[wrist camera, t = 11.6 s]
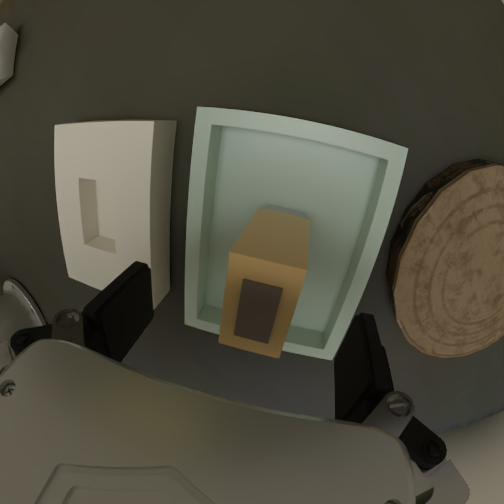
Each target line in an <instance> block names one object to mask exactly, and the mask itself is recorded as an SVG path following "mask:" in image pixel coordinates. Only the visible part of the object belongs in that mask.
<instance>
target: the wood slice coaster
mask: <svg viewBox="0 0 504 504" xmlns="http://www.w3.org/2000/svg"><path fill="white" fill-rule="evenodd" d="M386 277H387V284H388V291H389V298H390V302H391V305H392V308H393V311H394V314H395V317H396V320H397V323H398V324H399V326H400V328H401V330H402V332H403V334H404V336H405V338H406V339H407V341H408V342H409V343H410V344H412V345H413V346H414V347H416V348H417V349H418V350H420V351H421V352H423V353H424V354H428V355H432V356H437V357H441V358H450V357H458V356H466V355H469V354H471V353H474V352H476V351H478V350H481V349H483V348H485V347H488V346H489V345H491V344H492V343H494V342H495V341H496V340H498V339H499V338H501V337H502V336H503V335H504V165H502V164H498V163H494V162H490V161H486V160H481V159H473V160H469V161H465V162H460V163H456V164H452V165H450V166H449V167H447V168H446V169H445V170H443V171H442V172H440V173H439V174H438V175H436V176H435V177H433V178H432V179H430V180H429V181H427V182H426V183H425V185H424V186H423V187H422V189H421V190H420V191H419V192H418V194H417V195H416V196H415V198H414V199H413V200H412V201H411V203H410V204H409V205H408V206H407V208H406V209H405V211H404V213H403V215H402V218H401V220H400V222H399V225H398V227H397V229H396V232H395V234H394V236H393V238H392V240H391V244H390V251H389V258H388V264H387V270H386Z"/></svg>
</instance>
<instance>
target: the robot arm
mask: <svg viewBox="0 0 504 504" xmlns="http://www.w3.org/2000/svg"><path fill="white" fill-rule="evenodd" d="M3 289H4V294H3V295H2V296H1V297H0V504H465V503H466V502H467V500H468V498H469V495H470V492H469V488H468V485H467V484H466V483H465V481H464V479H463V478H462V476H461V475H460V473H459V472H458V470H457V469H456V467H455V466H454V464H453V463H452V461H451V460H450V459H449V460H448V461H447V460H446V458H445V457H446V452H447V449H446V445H445V443H444V441H443V440H442V439H441V438H439V437H438V436H437V435H436V434H435V433H433V432H432V431H431V430H430V429H429V428H427V427H426V426H425V425H424V424H422V423H421V422H420V421H419V420H418V419H416V418H415V417H414V416H413V414H414V412H415V406H414V402H413V401H412V399H411V398H410V397H409V396H408V395H407V394H405V393H403V392H400V391H394V387H393V382H392V377H391V372H390V368H389V364H388V359H387V355H386V351H385V348H384V346H382V345H381V342H380V338H379V334H378V330H377V326H376V322H375V319H374V316H373V315H372V314H366V313H360V314H359V315H356V316H355V317H354V319H353V321H352V324H351V326H350V328H349V330H348V332H347V334H346V337H345V339H344V341H343V343H342V345H341V347H340V349H339V351H338V353H337V355H336V357H335V361H334V375H335V419H327V418H320V417H313V416H307V415H301V414H294V413H289V412H283V411H277V410H272V409H267V408H263V407H258V406H253V405H249V404H245V403H241V402H236V401H232V400H229V399H225V398H221V397H217V396H214V395H210V394H207V393H203V392H200V391H197V390H194V389H190V388H187V387H184V386H181V385H178V384H175V383H172V382H169V381H166V380H164V379H161V378H158V377H155V376H153V375H150V374H147V373H145V372H142V371H140V370H137V369H135V368H132V367H130V366H127V365H125V364H123V363H121V361H122V360H123V358H124V357H125V356H126V354H127V353H128V351H129V350H130V349H131V347H132V346H133V345H134V343H135V342H136V341H137V339H138V338H139V336H140V335H141V334H142V332H143V331H144V330H145V328H146V327H147V326H148V324H149V323H150V322H151V320H152V318H153V315H154V309H153V296H152V279H151V269H150V268H149V267H148V264H146V263H143V262H139V261H135V262H133V263H132V264H131V265H130V266H129V267H128V268H127V269H126V270H124V271H123V272H122V273H121V274H120V275H119V276H118V277H117V278H115V279H114V280H113V281H112V282H111V283H110V284H109V285H108V286H107V287H106V288H104V289H103V290H102V291H101V292H100V293H99V294H98V295H97V296H96V297H95V298H94V299H93V300H92V301H91V302H90V303H88V304H87V305H86V306H85V307H84V311H83V312H82V313H80V312H79V311H78V310H75V309H65V310H62V311H60V312H59V313H57V314H56V315H55V317H54V318H53V323H52V324H48V325H47V324H46V322H45V320H44V318H43V315H42V314H41V312H40V310H39V308H38V307H37V305H36V303H35V302H34V300H33V299H32V298H31V296H30V295H29V294H28V292H27V291H26V290H25V289H24V288H23V286H22V285H21V284H19V283H18V282H17V281H16V280H14V279H8V280H6V281H5V282H4V286H3Z"/></svg>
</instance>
